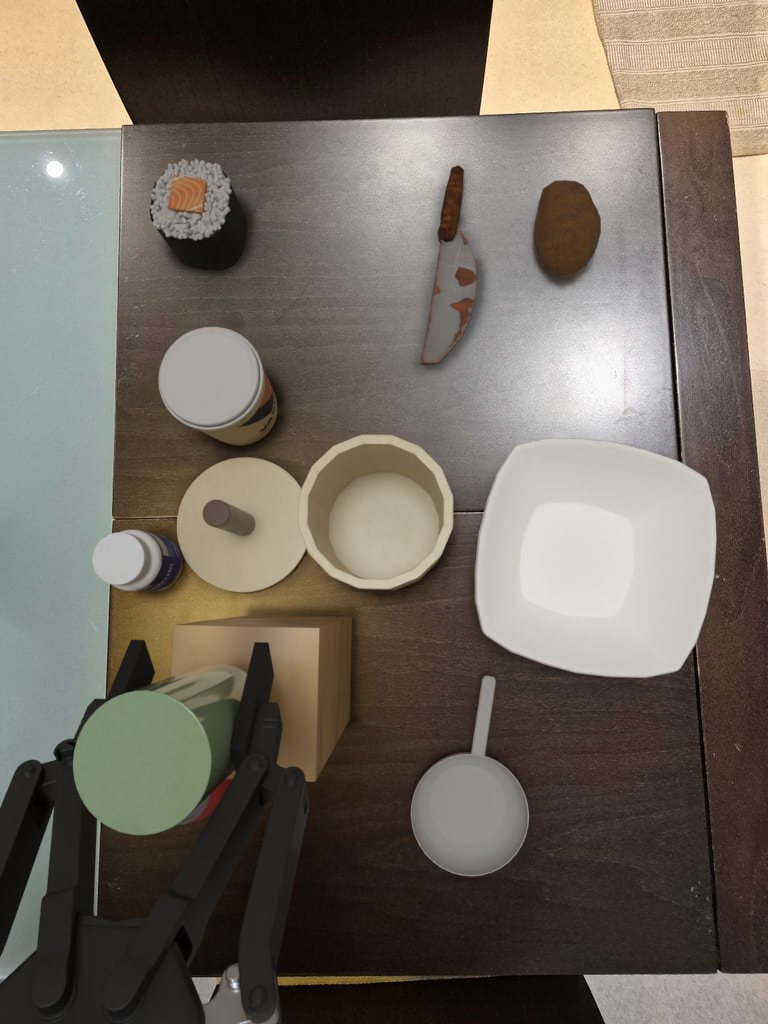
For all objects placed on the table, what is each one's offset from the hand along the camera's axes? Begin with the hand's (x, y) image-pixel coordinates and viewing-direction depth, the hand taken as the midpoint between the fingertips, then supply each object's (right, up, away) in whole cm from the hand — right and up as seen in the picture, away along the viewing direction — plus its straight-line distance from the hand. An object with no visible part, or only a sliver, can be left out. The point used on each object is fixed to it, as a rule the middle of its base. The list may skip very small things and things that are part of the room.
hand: (203, 658), depth 40 cm
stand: (+2, -7, +33) cm, 33 cm away
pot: (+10, +7, +34) cm, 36 cm away
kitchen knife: (+17, +33, +37) cm, 52 cm away
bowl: (+29, +3, +33) cm, 44 cm away
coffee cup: (-5, +19, +36) cm, 41 cm away
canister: (0, -4, +3) cm, 5 cm away
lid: (-4, +7, +34) cm, 35 cm away
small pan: (+18, -16, +31) cm, 40 cm away
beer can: (-7, -16, +32) cm, 37 cm away
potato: (+28, +36, +36) cm, 59 cm away
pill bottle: (-13, +3, +35) cm, 37 cm away
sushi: (-9, +38, +38) cm, 54 cm away
